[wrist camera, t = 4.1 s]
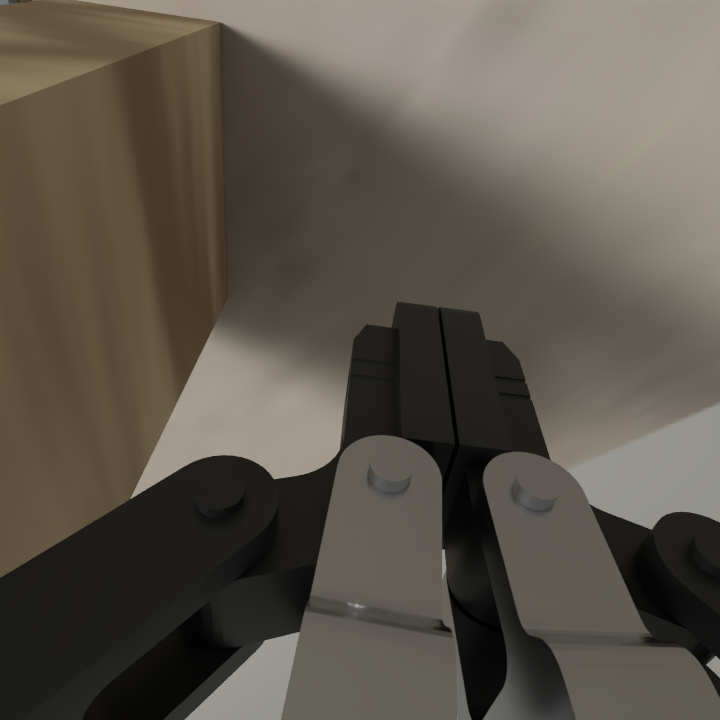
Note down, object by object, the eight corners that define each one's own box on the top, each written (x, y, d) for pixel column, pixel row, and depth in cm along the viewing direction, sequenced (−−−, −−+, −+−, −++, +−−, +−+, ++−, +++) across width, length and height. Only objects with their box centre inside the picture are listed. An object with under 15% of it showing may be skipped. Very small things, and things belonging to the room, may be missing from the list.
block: (220, 22, 14) (-366, 241, 3) (227, 298, 18) (6, 752, 8) (57, -3, 13) (-1133, 142, 3) (107, 282, 18) (-279, 723, 8)
